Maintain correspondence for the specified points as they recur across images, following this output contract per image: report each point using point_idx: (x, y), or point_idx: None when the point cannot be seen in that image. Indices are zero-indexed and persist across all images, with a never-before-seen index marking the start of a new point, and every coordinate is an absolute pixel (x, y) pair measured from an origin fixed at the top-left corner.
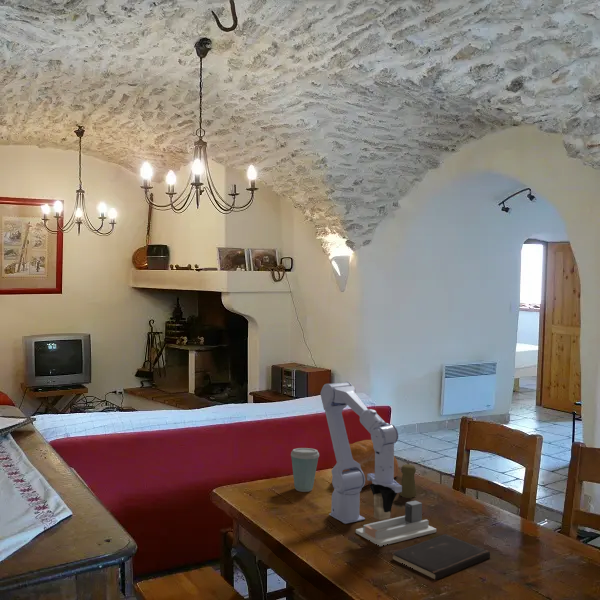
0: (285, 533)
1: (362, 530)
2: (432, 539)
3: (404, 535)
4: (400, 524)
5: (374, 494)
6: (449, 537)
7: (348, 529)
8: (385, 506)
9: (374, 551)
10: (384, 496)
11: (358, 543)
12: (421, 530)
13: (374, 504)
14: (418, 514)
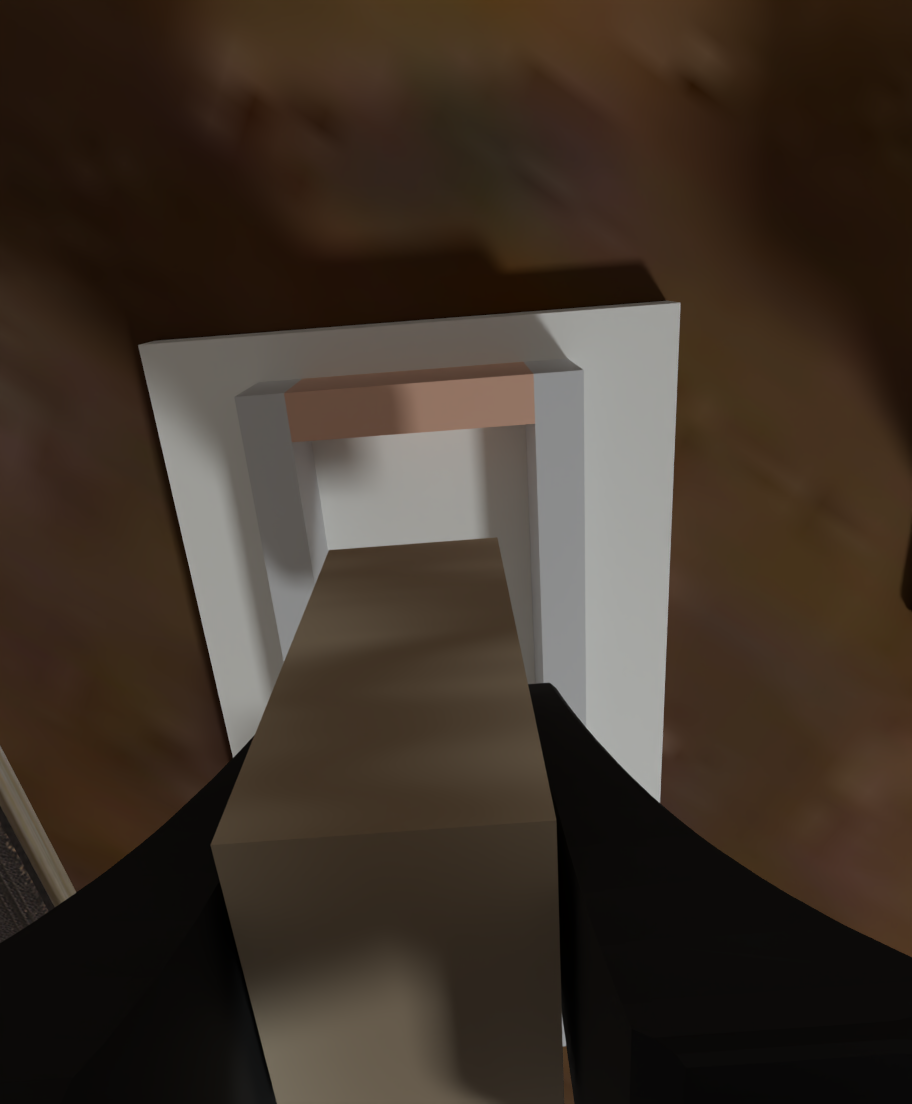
0: None
1: (603, 371)
2: (5, 873)
3: (257, 720)
4: None
5: (536, 826)
6: None
7: (809, 273)
8: (227, 770)
9: (32, 184)
10: (17, 954)
11: (343, 126)
12: None
13: (498, 649)
14: None
